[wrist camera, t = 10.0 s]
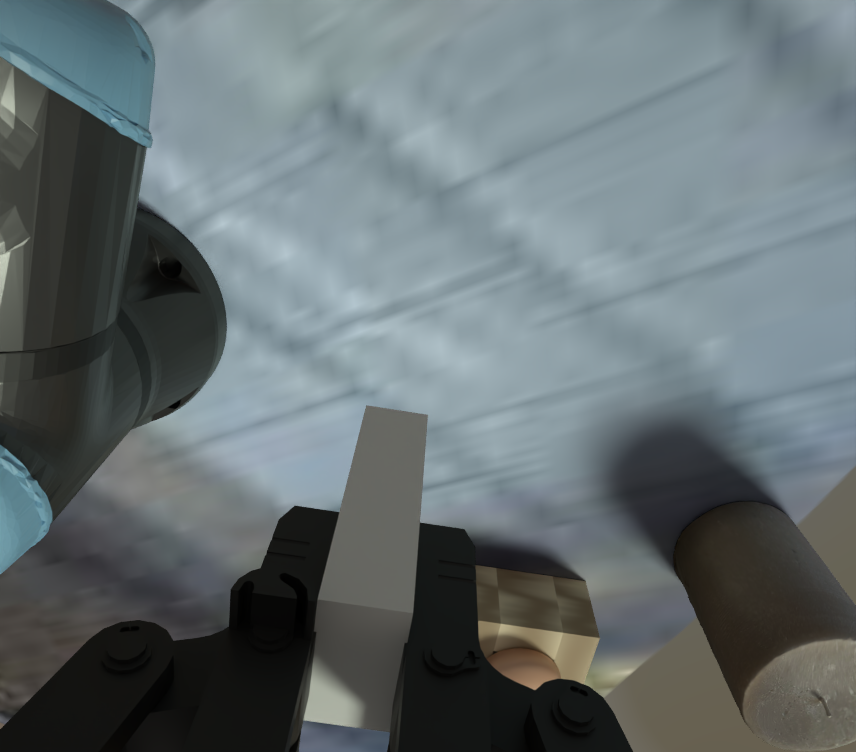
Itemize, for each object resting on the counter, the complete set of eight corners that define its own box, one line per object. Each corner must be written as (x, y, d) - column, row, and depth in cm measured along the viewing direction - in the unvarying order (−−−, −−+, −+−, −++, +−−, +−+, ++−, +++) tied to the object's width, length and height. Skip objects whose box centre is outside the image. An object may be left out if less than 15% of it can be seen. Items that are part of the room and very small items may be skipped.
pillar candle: (656, 588, 56) (725, 761, 42) (697, 489, 52) (786, 645, 38) (772, 606, 56) (876, 782, 43) (821, 509, 52) (954, 670, 39)
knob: (467, 648, 58) (468, 726, 51) (481, 589, 55) (485, 664, 49) (541, 658, 58) (553, 738, 52) (559, 601, 56) (574, 677, 49)
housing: (442, 653, 60) (441, 714, 54) (463, 563, 55) (464, 618, 50) (556, 670, 60) (566, 731, 54) (585, 581, 56) (599, 638, 50)
